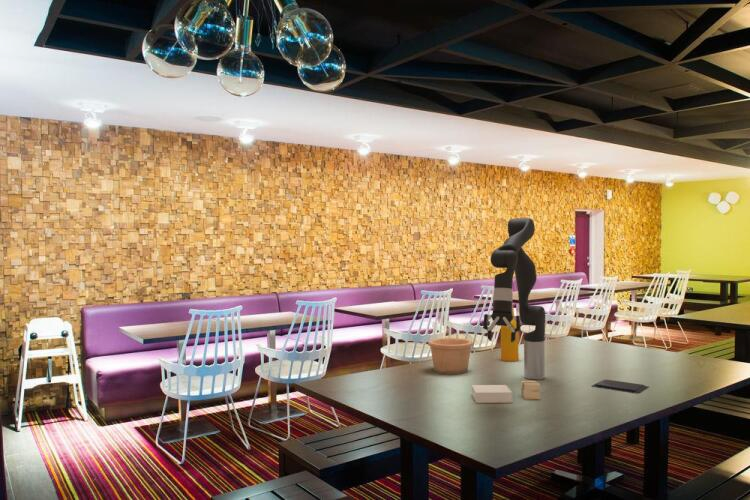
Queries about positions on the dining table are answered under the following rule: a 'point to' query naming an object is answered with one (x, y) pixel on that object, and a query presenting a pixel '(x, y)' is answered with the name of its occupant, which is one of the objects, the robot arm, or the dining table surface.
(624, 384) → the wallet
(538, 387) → the maple cube
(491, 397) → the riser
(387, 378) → the dining table surface
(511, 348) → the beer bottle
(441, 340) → the pottery
